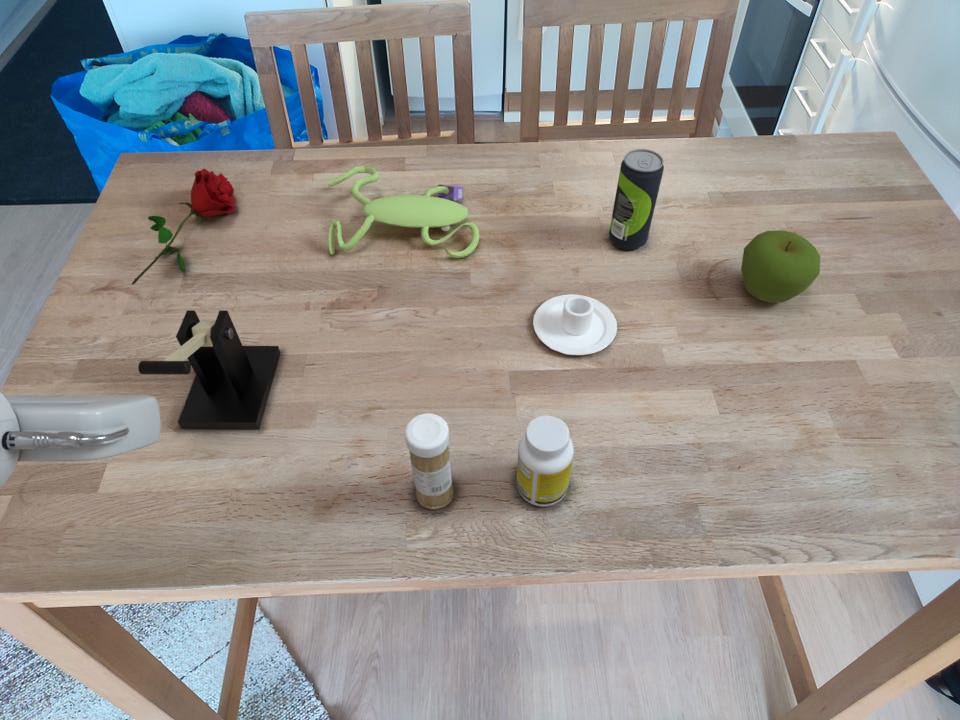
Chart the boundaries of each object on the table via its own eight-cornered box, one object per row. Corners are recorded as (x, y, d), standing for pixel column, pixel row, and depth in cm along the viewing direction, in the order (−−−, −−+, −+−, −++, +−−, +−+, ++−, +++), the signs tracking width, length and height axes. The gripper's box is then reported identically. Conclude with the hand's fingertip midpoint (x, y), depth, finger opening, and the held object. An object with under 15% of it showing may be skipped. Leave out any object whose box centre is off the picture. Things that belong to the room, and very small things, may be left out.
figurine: (337, 187, 118) (332, 160, 114) (486, 193, 116) (485, 166, 112) (312, 255, 106) (304, 227, 102) (477, 263, 104) (476, 235, 100)
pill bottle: (575, 473, 79) (585, 420, 71) (557, 516, 76) (566, 465, 67) (527, 455, 81) (531, 402, 73) (507, 496, 78) (510, 445, 69)
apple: (735, 262, 104) (754, 210, 96) (805, 278, 101) (830, 226, 94) (726, 308, 97) (746, 256, 90) (801, 326, 95) (828, 274, 87)
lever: (187, 380, 70) (183, 359, 69) (140, 380, 70) (136, 359, 69) (232, 339, 82) (230, 320, 81) (193, 338, 82) (189, 320, 81)
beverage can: (648, 252, 106) (668, 171, 94) (610, 252, 106) (624, 171, 94) (644, 228, 110) (662, 147, 98) (606, 227, 110) (620, 147, 98)
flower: (134, 247, 90) (224, 145, 111) (91, 268, 94) (185, 165, 115) (182, 296, 95) (259, 189, 116) (139, 314, 99) (221, 207, 120)
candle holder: (555, 368, 90) (557, 347, 87) (519, 310, 97) (520, 289, 94) (631, 343, 93) (637, 322, 90) (591, 289, 100) (595, 268, 97)
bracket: (259, 429, 84) (229, 365, 74) (181, 428, 84) (141, 364, 75) (280, 352, 93) (256, 286, 83) (210, 352, 93) (177, 285, 83)
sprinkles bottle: (450, 474, 80) (444, 408, 69) (457, 507, 77) (452, 443, 66) (412, 481, 79) (401, 415, 69) (418, 515, 76) (407, 452, 66)
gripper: (95, 391, 41) (195, 370, 54) (-230, 391, 41) (-49, 370, 55) (100, 491, 41) (198, 445, 55) (-221, 491, 41) (-43, 445, 55)
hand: (73, 408), depth 55 cm, fingers open, 8 cm apart
